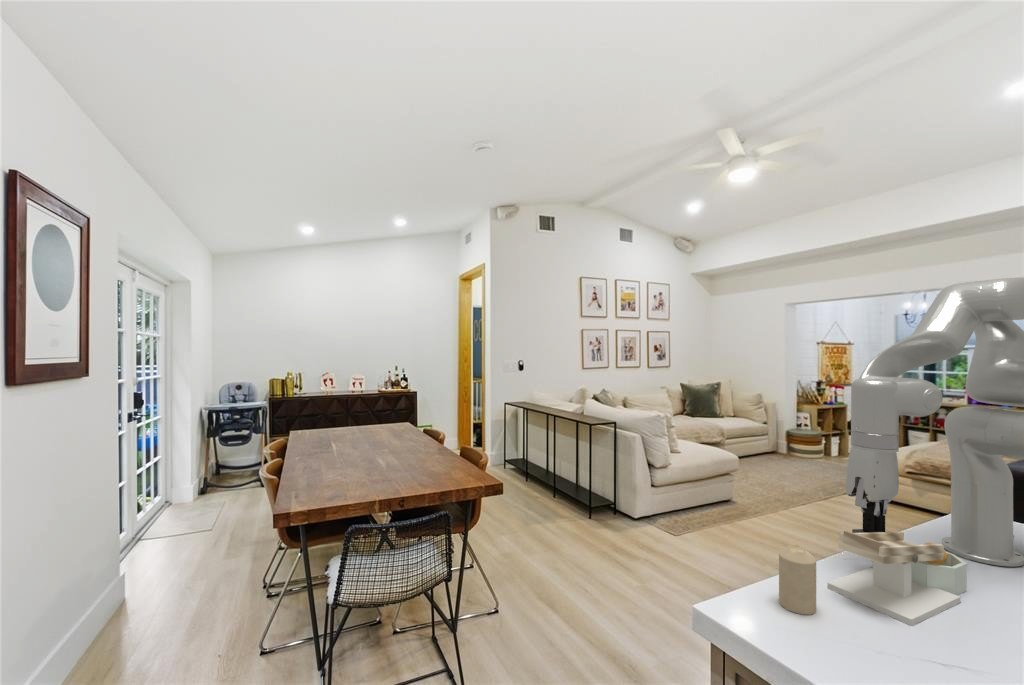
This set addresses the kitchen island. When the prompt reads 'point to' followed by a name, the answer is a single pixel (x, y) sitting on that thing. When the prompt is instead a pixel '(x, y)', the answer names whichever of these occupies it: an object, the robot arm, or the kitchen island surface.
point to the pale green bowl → (942, 574)
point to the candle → (797, 580)
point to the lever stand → (894, 592)
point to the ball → (937, 562)
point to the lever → (888, 547)
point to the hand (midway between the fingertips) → (873, 533)
